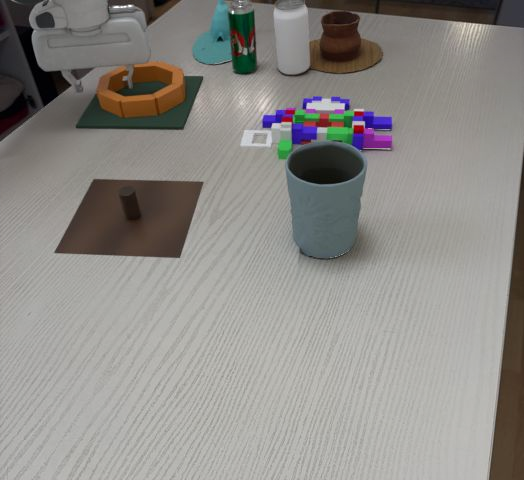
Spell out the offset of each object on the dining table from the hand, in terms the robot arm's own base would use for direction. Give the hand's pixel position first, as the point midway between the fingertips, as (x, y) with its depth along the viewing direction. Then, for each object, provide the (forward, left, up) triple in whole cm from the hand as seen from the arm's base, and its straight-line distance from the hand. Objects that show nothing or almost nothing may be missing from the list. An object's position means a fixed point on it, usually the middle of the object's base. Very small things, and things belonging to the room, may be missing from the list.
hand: (103, 89), depth 103 cm
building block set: (+41, -10, -2) cm, 42 cm away
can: (+35, +14, -2) cm, 38 cm away
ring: (+7, +1, -2) cm, 7 cm away
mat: (+7, 0, -2) cm, 7 cm away
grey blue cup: (+43, -39, -2) cm, 58 cm away
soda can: (+25, +14, -2) cm, 29 cm away
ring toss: (+15, -36, -2) cm, 39 cm away
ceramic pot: (+44, +21, -2) cm, 49 cm away
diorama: (+18, +26, -2) cm, 32 cm away
